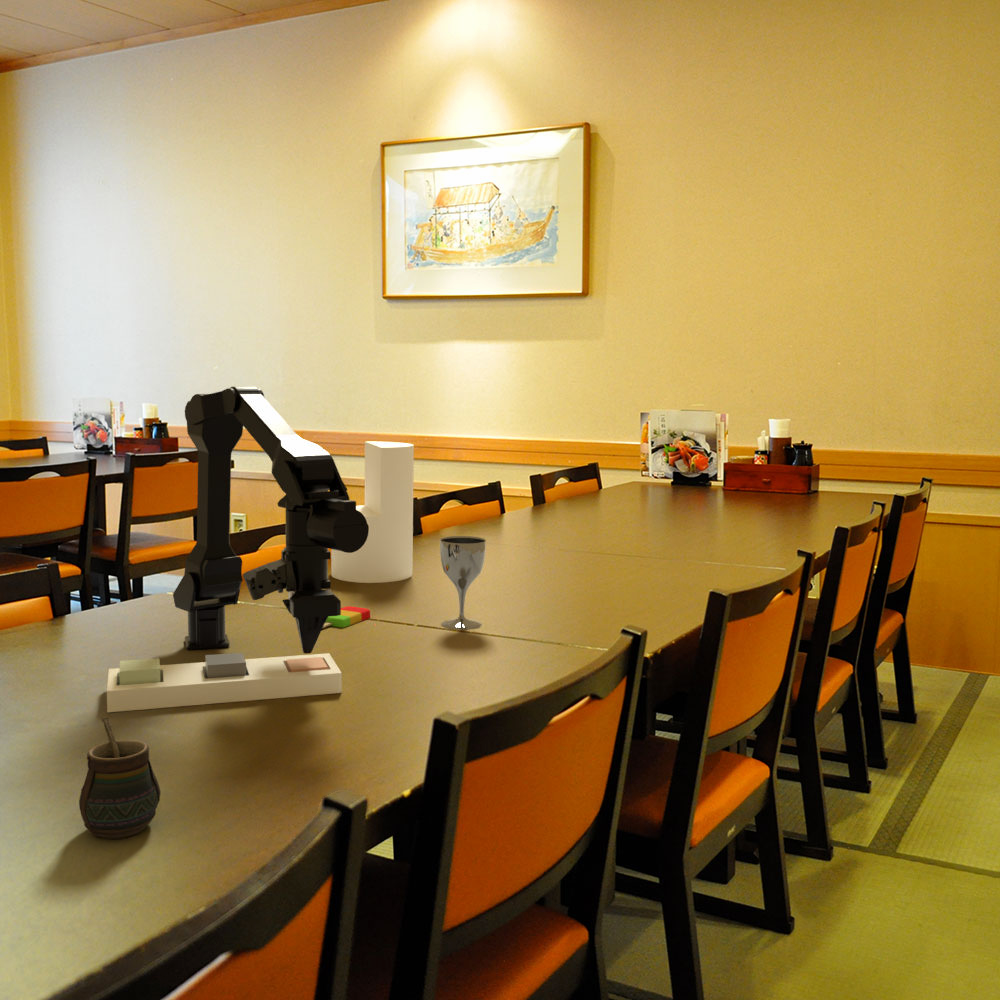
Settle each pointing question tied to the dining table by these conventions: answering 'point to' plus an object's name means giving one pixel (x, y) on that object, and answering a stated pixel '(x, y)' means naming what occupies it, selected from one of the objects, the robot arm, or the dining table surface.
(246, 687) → the cream block puzzle board
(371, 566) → the cylinder
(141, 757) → the mate gourd
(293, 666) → the terracotta key
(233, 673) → the charcoal key
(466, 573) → the wine glass
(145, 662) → the sage key
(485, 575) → the dining table surface
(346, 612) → the popsicle
